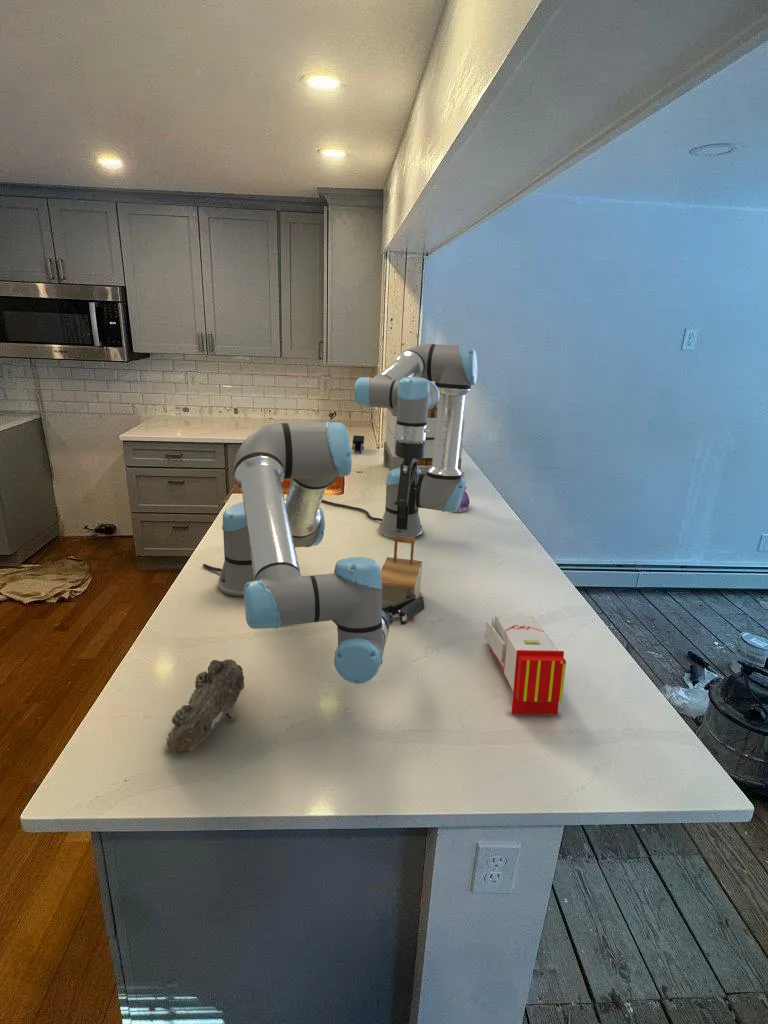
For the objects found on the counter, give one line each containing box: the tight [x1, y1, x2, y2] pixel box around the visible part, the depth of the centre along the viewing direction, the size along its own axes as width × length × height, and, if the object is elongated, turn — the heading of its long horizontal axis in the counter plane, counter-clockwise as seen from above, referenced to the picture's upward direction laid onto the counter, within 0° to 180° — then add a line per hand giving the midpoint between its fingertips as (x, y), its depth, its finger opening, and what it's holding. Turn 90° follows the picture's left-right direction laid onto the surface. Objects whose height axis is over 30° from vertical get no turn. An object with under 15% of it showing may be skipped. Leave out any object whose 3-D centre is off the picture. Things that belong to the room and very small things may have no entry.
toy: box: [484, 614, 567, 716], centre depth 124 cm, size 12×13×30 cm
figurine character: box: [351, 435, 365, 454], centre depth 310 cm, size 7×8×15 cm
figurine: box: [454, 471, 470, 513], centre depth 225 cm, size 9×10×15 cm
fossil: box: [166, 658, 245, 754], centre depth 106 cm, size 22×10×15 cm
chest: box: [382, 566, 423, 622], centre depth 151 cm, size 15×10×9 cm, turn 169°
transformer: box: [383, 402, 465, 473], centre depth 268 cm, size 34×33×41 cm
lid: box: [380, 536, 424, 589], centre depth 148 cm, size 16×10×8 cm, turn 169°
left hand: (379, 596), depth 126 cm, fingers open, 13 cm apart
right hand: (405, 519), depth 150 cm, fingers open, 13 cm apart
